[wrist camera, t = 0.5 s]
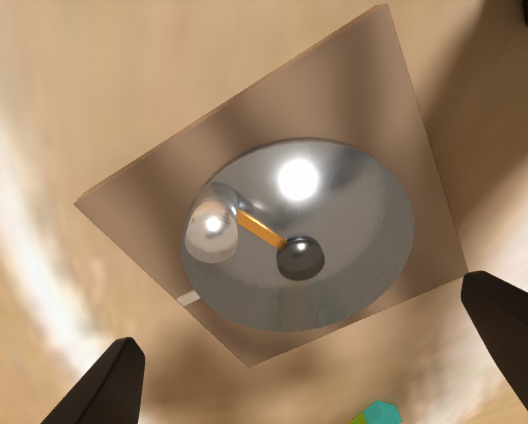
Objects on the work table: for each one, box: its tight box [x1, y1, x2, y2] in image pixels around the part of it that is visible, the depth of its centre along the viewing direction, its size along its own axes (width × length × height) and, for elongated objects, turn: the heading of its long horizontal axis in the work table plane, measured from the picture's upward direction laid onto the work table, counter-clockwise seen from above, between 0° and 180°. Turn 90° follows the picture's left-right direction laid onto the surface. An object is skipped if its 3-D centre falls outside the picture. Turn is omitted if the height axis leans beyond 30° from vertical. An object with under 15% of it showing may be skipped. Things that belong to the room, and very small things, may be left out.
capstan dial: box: [181, 137, 414, 332], centre depth 19 cm, size 15×15×5 cm
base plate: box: [74, 3, 469, 368], centre depth 22 cm, size 20×20×2 cm
